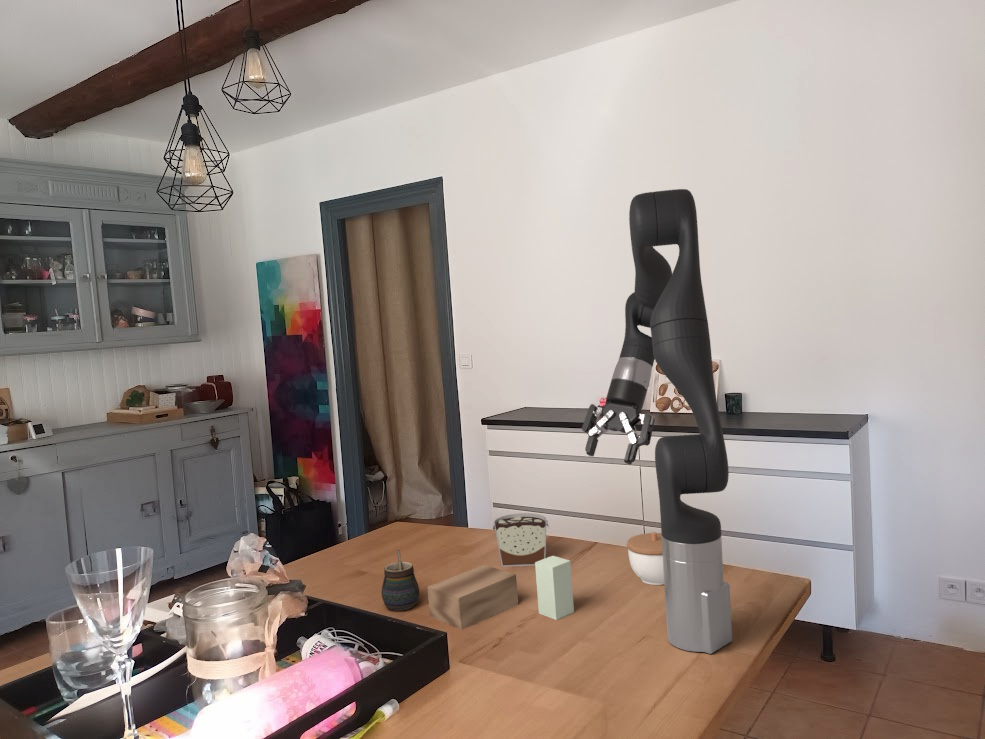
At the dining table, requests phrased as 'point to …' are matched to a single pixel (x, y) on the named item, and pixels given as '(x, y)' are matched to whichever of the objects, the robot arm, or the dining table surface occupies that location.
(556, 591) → the sage block
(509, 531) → the food container
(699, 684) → the dining table surface
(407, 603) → the mate gourd
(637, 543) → the lidded jar
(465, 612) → the walnut block
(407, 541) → the dining table surface
